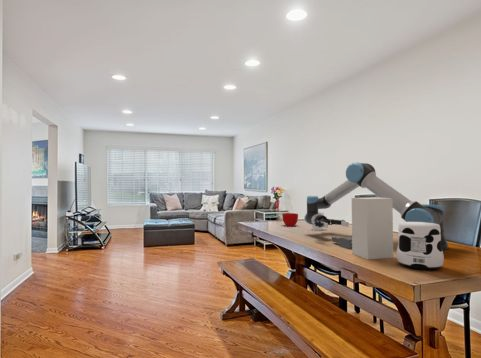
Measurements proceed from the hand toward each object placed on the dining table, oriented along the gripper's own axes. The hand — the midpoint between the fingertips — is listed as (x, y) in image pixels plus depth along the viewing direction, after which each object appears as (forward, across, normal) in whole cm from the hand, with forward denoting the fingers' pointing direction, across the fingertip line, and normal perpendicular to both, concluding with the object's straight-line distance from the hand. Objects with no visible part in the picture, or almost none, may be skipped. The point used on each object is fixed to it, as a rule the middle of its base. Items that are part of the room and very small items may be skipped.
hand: (337, 225), depth 181 cm
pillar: (+31, 0, -11) cm, 32 cm away
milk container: (+53, -6, -11) cm, 54 cm away
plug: (+6, 0, -11) cm, 13 cm away
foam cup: (-53, -15, -12) cm, 56 cm away
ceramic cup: (-80, -6, -12) cm, 81 cm away
